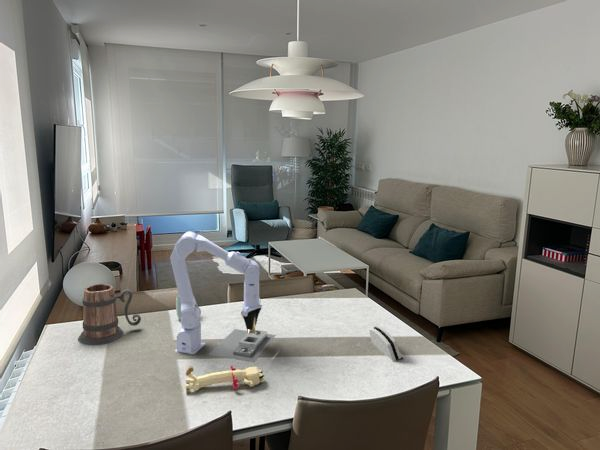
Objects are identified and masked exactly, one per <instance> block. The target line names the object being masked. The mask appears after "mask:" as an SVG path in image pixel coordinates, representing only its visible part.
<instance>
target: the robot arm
mask: <svg viewBox="0 0 600 450" xmlns="http://www.w3.org/2000/svg"><path fill="white" fill-rule="evenodd" d="M195 250H196V251H195ZM194 251H195V252H197V253H198V252H207V253H208V254H211V255H213V256H215V257H217V258H219V259H221V260H223V261H224V262H225V266H227V267H229V268H231V269H233V270H235V271H236V272H238V273H241V274H243V276H244V280H243V303H242V304H243V305H242V310H241V312H240V316H242V318H243V320H244V323H245V328H246V330H247V329H248V330H252V329H253V324H254V318H255V327H256V326H257V323H258V319H259V314H260V312H261V310H262V307H263V304H261V298H260V275H261V271H260V265H259V263H258V262H257V261H256V260H254V259H251V258H247V257H245V256H243V255H241V252H239V251H237V250H236V251H227V250H225V249H224V248H222V247H220V246H219V245H217V244H215V243H214V242H212V241H211V240H210V239H207V238H206V237H204V236H203V235H201V234H197V233H196V232H195V231H186V232H184V233H183V234H182V236H181V237H180V238H179V239H178V240H177V241H176V243H175V244H174V248H173V249H172V251H171V252H172V253H171V254H170V263H171V267H172V273H173V275H174V280H175V285H176V288H177V293H178V296H179V298H180V302H181V314H182V317H181V320H180V330H179V332H178V333H177V335H176V348H175V350H174V352H177V353H183V354H190V355H195V354H196V353H197V352H198V351H199V350H201V349H202V348H203V347H204V346H205V345H206V343H205V342H202V322H201V321H200V316H201V314H202V311H201V307H200V306H198V304H197V300H196V299H195V296H194V293H193V289H192V285H191V280H190V276H189V272H188V267H187V262H186V258H187V257H188V256H189V255H190V254H192V253H193V252H194ZM193 296H194V297H193Z"/></svg>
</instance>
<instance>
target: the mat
mask: <svg viewBox="0 0 600 450" xmlns="http://www.w3.org/2000/svg"><path fill="white" fill-rule="evenodd" d="M247 333H248V332H247V330H242V329H238V328H237V329H236V328H234V329H233V330H232V331H231V332H230V333H229V334H228V335H227V336H226V337H225V338H224V339H223V340H222V341H221V342H219V344H217V345H216V347H215V348H213V350H212V351H210V353H208V355H209V356H215V357H220V358H226V359H230V360H231V359H232V360H238V361H244V362H250V363H255V362H256V361H257V359H258V358H259V357H260V356H261V355H262V354H263V352H264V351H265V350H266V348H267V347H268V346H269V344H271V342H272V341H273V340H274V338H275V337H276V334H270V333H268V335H267V338H266V340H265V341H264V342H263V343H262V345H261V346H260V347H259V348H258V349H257V351H256V352H255V353H254V354H253V355H252V357H246V356H239V355H233V351H234V350H235V349H236V348H237V347H238V346H239V342H240V341H241V339H242V338H243V337H244V336H245V335H246V334H247ZM208 355H207V356H208Z"/></svg>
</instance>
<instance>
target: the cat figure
mask: <svg viewBox="0 0 600 450" xmlns="http://www.w3.org/2000/svg"><path fill="white" fill-rule="evenodd" d="M194 370H195V369H194V366H191V365H190V366H188V368H187V369H186V370H185V376H186V377H187V378H185V382H186V384H185V392H186V394H190V392H191V391H190V390H192V391H199V390H200V389H202V388H203V387H210V386H212V385H215V384H222V383H228V382H229V383H232V385H233V386H232V387H233V391H236V389H237V388H239V382H244V383H245V384H246V385H247V386H249V388H253V387H255V385H259V384H260V383H263V382H264V380H266V378H265V374H264V373H263V370H261V369H258V367H257V366H250V367H246V368H245V369H237V368H235V367H234V366H233V365H231V366H230V370H223V371H217V372H211V373H207V374H204V375H203V374H202V375H199V376H196V375H195V374H193V372H194Z"/></svg>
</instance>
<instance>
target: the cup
mask: <svg viewBox="0 0 600 450" xmlns="http://www.w3.org/2000/svg"><path fill="white" fill-rule="evenodd" d="M193 297H194V298H195V295H193ZM175 309H176V310H175V311H176V315H177V318H178V319H179V321H181V317H182V314H181V302H180V298H179V295H177V296H176V298H175Z"/></svg>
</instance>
